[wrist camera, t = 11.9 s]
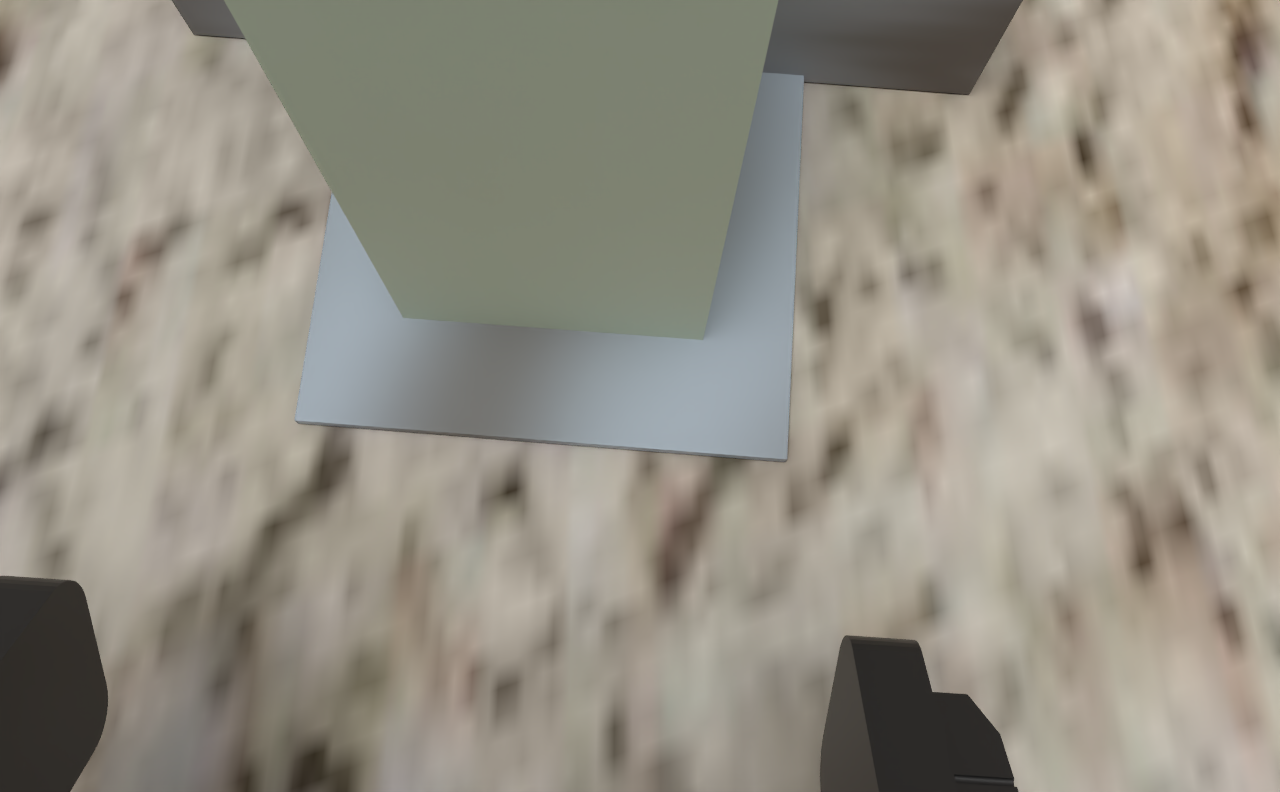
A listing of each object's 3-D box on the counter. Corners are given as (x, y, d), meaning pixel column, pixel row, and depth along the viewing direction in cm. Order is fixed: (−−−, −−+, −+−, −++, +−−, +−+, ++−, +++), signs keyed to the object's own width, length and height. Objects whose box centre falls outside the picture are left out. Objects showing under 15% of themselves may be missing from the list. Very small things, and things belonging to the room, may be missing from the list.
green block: (403, 317, 19) (174, -90, 9) (438, 52, 20) (270, -547, 10) (702, 340, 19) (788, -46, 9) (719, 73, 20) (808, -510, 10)
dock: (115, 408, 19) (-39, 318, 14) (227, -129, 21) (126, -342, 17) (968, 476, 18) (1076, 406, 14) (968, -72, 21) (1058, -272, 17)
